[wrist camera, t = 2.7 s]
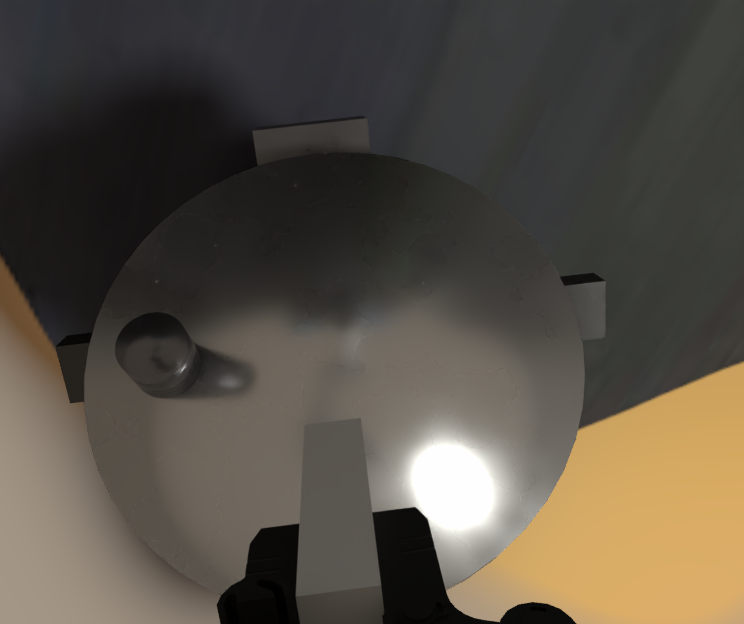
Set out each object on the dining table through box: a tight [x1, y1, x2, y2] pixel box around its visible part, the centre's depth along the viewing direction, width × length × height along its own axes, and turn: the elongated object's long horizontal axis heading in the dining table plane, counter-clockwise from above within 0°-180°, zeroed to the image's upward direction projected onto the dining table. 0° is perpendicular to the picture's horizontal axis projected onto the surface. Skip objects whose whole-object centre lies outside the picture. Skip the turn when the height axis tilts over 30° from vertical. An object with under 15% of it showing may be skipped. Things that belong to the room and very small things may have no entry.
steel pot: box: [56, 116, 605, 403], centre depth 38 cm, size 19×27×12 cm
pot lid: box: [84, 152, 585, 595], centre depth 24 cm, size 22×18×3 cm
